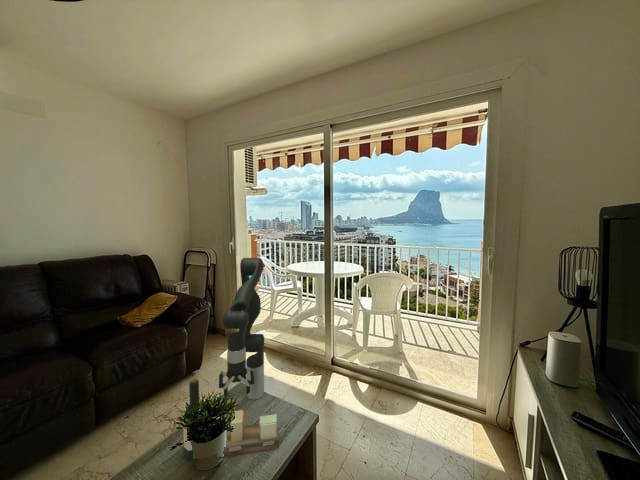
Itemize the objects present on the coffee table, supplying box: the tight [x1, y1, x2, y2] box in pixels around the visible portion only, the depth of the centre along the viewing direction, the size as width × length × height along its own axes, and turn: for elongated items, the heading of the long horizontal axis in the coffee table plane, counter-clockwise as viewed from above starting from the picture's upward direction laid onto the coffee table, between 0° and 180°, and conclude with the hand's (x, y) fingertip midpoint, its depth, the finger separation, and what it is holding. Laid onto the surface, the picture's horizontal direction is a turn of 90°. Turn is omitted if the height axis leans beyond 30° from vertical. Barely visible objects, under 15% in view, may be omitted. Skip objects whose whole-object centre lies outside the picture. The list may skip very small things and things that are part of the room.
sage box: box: [259, 413, 278, 441], centre depth 106 cm, size 5×7×8 cm
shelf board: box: [223, 423, 279, 458], centre depth 107 cm, size 12×24×4 cm, turn 101°
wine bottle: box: [182, 378, 200, 462], centre depth 101 cm, size 8×8×30 cm
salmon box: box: [230, 409, 245, 442], centre depth 108 cm, size 5×7×8 cm
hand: (237, 394), depth 107 cm, fingers open, 8 cm apart
